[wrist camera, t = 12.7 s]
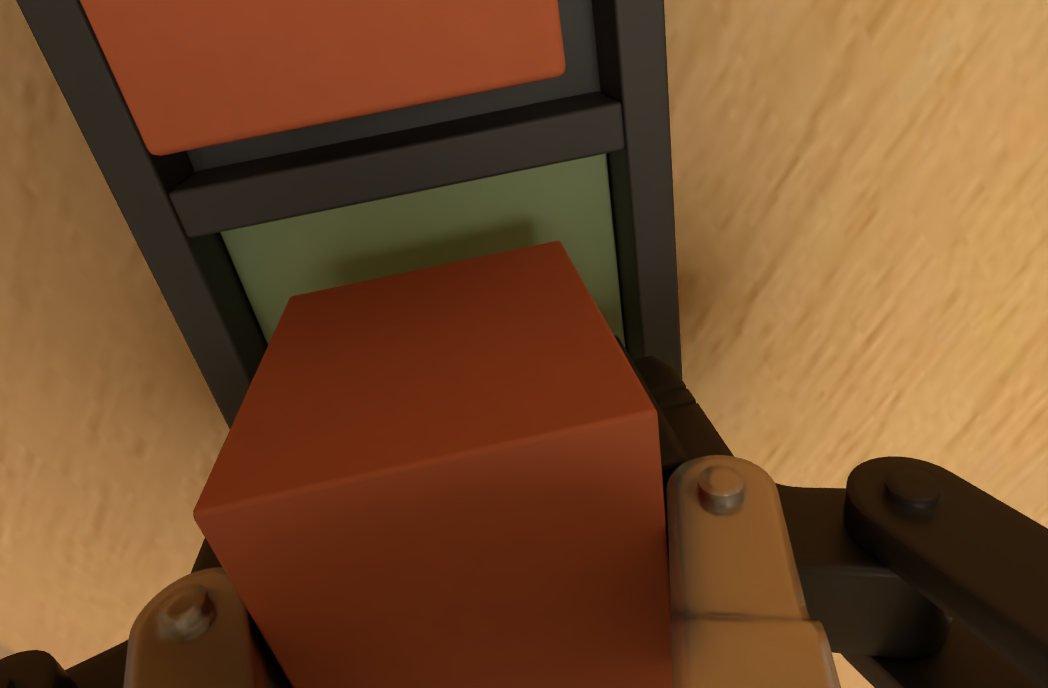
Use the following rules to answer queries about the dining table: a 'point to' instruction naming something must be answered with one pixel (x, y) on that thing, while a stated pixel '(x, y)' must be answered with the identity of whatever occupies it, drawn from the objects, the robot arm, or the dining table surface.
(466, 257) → the pad holder
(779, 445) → the dining table surface
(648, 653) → the orange block
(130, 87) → the orange rectangular block
